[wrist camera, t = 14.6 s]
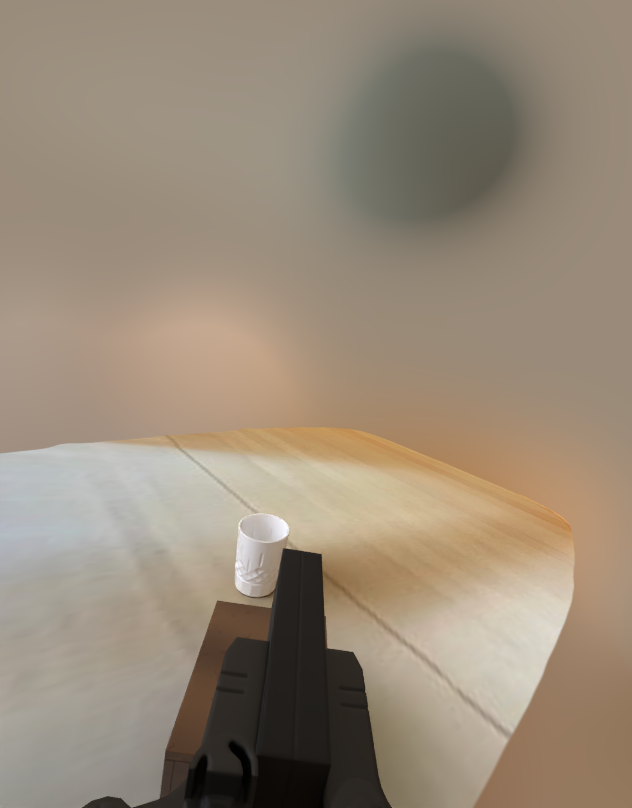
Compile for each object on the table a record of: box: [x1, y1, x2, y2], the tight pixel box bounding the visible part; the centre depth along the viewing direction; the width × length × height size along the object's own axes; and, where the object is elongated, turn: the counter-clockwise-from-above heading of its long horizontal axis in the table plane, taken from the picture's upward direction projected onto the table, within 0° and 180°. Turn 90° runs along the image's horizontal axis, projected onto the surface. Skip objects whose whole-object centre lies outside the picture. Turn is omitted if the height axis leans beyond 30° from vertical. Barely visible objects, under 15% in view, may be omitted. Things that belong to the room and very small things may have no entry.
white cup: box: [234, 513, 290, 597], centre depth 55 cm, size 8×8×10 cm
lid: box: [165, 601, 327, 762], centre depth 32 cm, size 14×12×1 cm
